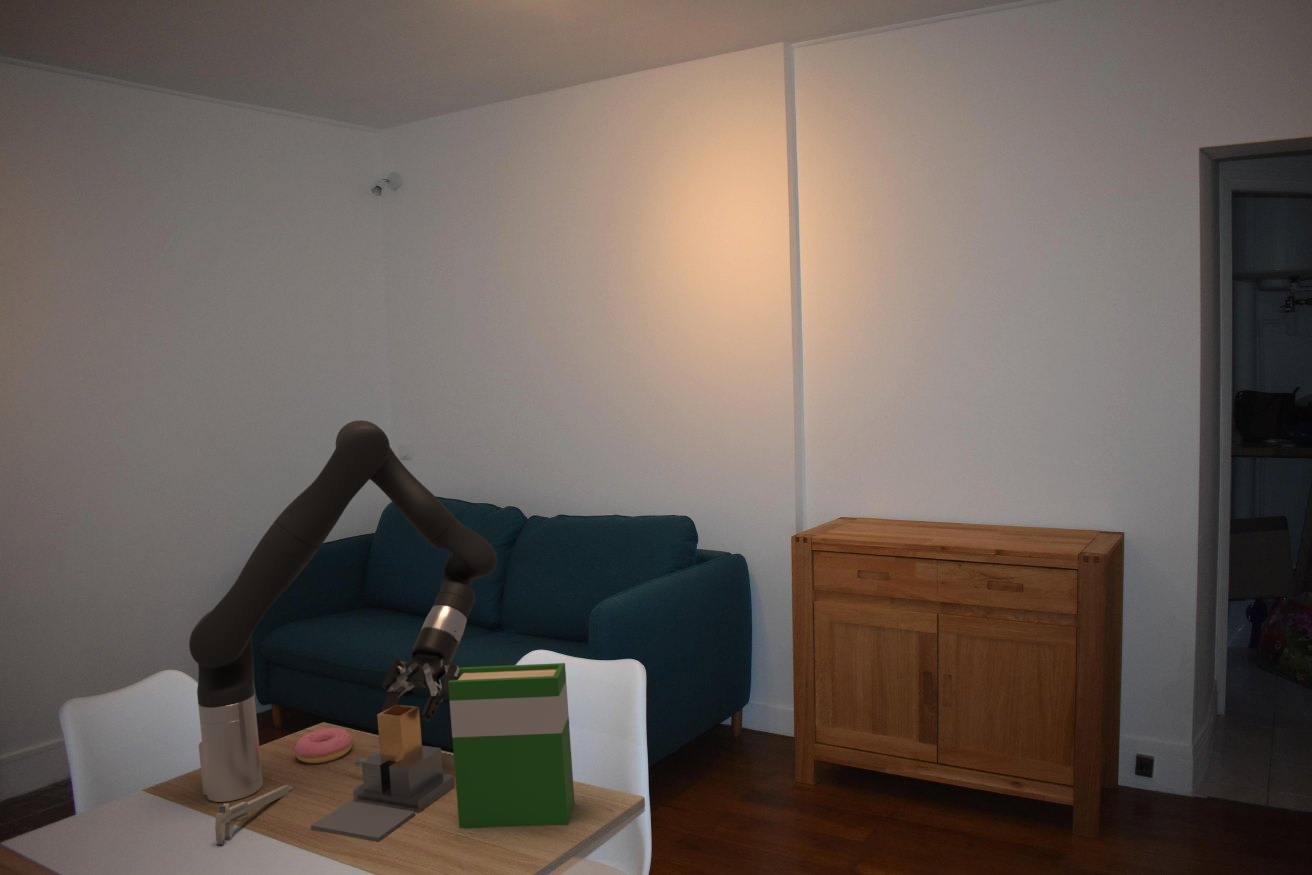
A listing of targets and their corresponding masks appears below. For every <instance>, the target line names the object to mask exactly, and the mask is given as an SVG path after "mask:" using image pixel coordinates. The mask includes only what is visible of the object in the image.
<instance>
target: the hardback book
mask: <svg viewBox="0 0 1312 875" xmlns="http://www.w3.org/2000/svg"><path fill="white" fill-rule="evenodd" d="M459 668H460V669H459V673H460V678H459V679H458V680H450V681H449V682H448V687H449V700H448V701H449V711H450V712H449V713H450V722H451V724H450V726H451V737H452V750H453V762H454V763H453V764H454V773H455V774H454V779H455V787H456V788H455V790H456V800H457V801H456V802H457V816H458V817H457V818H458V827H459V828H458V829H476V828H479V829H480V828H508V827H509V828H510V827H512V828H513V827H537V826H539V827H541V826H545V827H546V826H566V825H569V824H570V820H571V819H570V818H571V816H572V813H573V810H574V806H575V801H576V800H575V790H574V789H575V788H574V777H573V776H574V775H573V759H572V746H571V733H570V732H571V731H570V717H569V702H568V686H567V674H566V673H567V672H566V662H559V663H558V662H557V663H537V664H535V663H533V664H512V665H491V666H489V665H487V666H465V667H459Z"/></svg>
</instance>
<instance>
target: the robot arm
mask: <svg viewBox="0 0 1312 875" xmlns="http://www.w3.org/2000/svg"><path fill="white" fill-rule="evenodd" d="M335 438H336V439H335V449H334V450H333V453H332V455H331V456H330V458H329V459H328V461H327V462H326V463H325V466H324V467H323V469H322V470H321V472H320V473H319V474H318V476H316V478H315V479H314V481H313V482H311V484H309V486H308V487H306V489H304V490H303V491H302V492H301V493H300V494H299V495H298V496H296V498H294V499H293V501H291V502H290V503H289V504H288V505H287V506H286V507H285V508H284V509H283V510H282V512H281V513H280V514H279V515H278V516H277V518H276V519H275V520H274V521H273V523H272V524H271V525H270V527H269V528H268V529H267V531H266V532H264V535H263V536H262V538H261V539H260V541H259V542H258V544H257V545H256V547H255V549H253V551H252V552H251V555H250V557H249V558H248V559H247V561H246V563H245V565H244V567H243V568H242V570H241V572H240V574H239V575H238V577H237V579H236V581H234V584H233V585H232V586H231V588H230V589H229V590H228V592H226V594H225V595H224V596H223V597H222V598H221V600H220V601H219V602H218V603H217V604H216V605H215V606H214V607H213V609H211V610H210V611H209V612H207V613H206V614H205V615H203V617H201V619H200V620H199V621H197V623H196V625H195V626H194V627H193V629H192V631H191V634H190V636H189V641H188V642H189V643H188V644H189V645H188V646H189V651H190V655H191V657H192V659H193V660H194V662H195V663H197V667H198V680H197V681H198V683H197V688H196V689H197V690H196V694H197V704H198V706H197V707H198V716H199V726H200V733H201V734H200V736H201V741H200V743H199V744H198V751H199V764H200V773H201V785H202V786H201V787H202V795H204V796H206V798H207V799H208V800H209V801H211V802H216V803H221V802H224V803H226V802H231V801H235V800H236V801H237V800H240V799H244V798H246V797H249V796H251V795H253V794H255V793H257V792H258V791H260V790H261V788H262V787H263V775H262V774H263V773H262V765H261V764H262V763H261V753H260V750H261V749H260V741H259V732H258V731H259V730H258V729H259V728H258V720H257V710H256V709H257V708H256V700H255V699H256V697H255V688H254V682H255V679H254V678H255V666H254V650H253V640H252V639H253V637H252V635H253V633H254V632H255V630H256V628H257V626H258V625H259V624H260V622H261V621H262V620H263V617H264V616H265V614H266V613H267V611H268V610H269V609H270V608H271V606H272V605H273V604H275V602H276V600H278V598H280V596H282V595H283V593H284V592H285V591H286V590H287V589H288V587H290V586H291V584H292V583H293V582H294V581H295V580H296V578H297V577H298V576H299V575H300V574H301V572H303V570H304V569H305V568H306V566H307V565H308V564H309V563H310V561H311V560H312V559H313V558H314V556H315V555H316V553H317V552H318V551H319V549H320V548H321V546H323V544H324V542H325V541H326V540H327V537H329V535H330V534H331V532H332V531H333V529H334V527H335V526H336V525H337V523H338V521H339V520H340V518H341V517H342V514H343V513H344V512H345V510H346V509H347V507H348V506H349V504H350V503H351V501H352V500H353V499H354V497H355V496H356V495H357V494H358V493H359V492H360V490H361V489H362V488H363V487H364V486H365V485H366V484H367V483H368V482H369V481H371V482H372V483H373V484H375V485H376V486H377V488H379V489H380V490H381V491H382V492H383V493H384V494H385V495H386V497H387V498H389V499H390V501H391V502H392V504H394V506H395V507H396V509H398V510H399V512H400V513H401V514H402V515H403V517H404V518H405V519H406V520H407V521H408V522H409V524H410V525H411V526H412V527H413V528H414V529H415V531H416V532H418V534H420V535H421V537H422V538H424V539H425V541H426V542H427V543H428V544H429V545H430V546H431V547H433V548H434V549H435V550H439V551H448V552H450V553H449V555H448V556H447V559H446V561H445V563H444V567H443V572H442V577H441V582H440V590H439V592H438V594H437V596H436V598H435V601H434V603H433V605H432V607H431V610H430V611H429V612H428V614H427V616H426V617H425V620H424V622H423V624H422V627H421V629H420V632H419V633H418V636H417V638H416V640H415V643H414V645H413V647H412V653H411V658H410V659H409V660H408V661H403V660H401V659H400V658H395V659H394V660H393V663H392V664H391V667H390V669H389V670H388V672H387V674H386V675H385V679H384V680H383V682H382V685H381V688H383V689H384V690H385V692H387V696H386V698H385V700H384V702H383V705H382V707H381V708H382V710H381V711H382V712H383V711H385V710H387V709H389V708H391V707H392V706H394V705H399V704H398V703H399V701H400V697H401V696H402V695H404V694H405V693H406V692H407V691H411V690H412V689H413V688H425V689H429V693H430V696H428V697H427V701H426V703H425V705H424V707H423V710H422V713H421V714H420V717H421V718H422V719H423V720H424V721H425V722H431V721H432V719H433V718H434V717H435V716H436V714H437V710H438V708H439V705H440V703H441V702H443V701H445V700H448V701H450V700H449V687H448V682H449V681H450V680H458V679H459V678H460V673H459V669H460V668H461V667H459V666H458V665H457V664H456V663H455V662H452V661H453V659H454V657H455V654H456V651H457V649H458V647H459V644H460V641H461V639H462V637H463V635H464V632H465V628H466V624H467V621H468V619H469V617H470V614H471V611H472V609H473V607H474V603H475V601H476V594H475V592H474V590H473V588H471V585H472V583H473V581H474V580H477V579H480V578H484V577H487V576H489V575H490V574H492V573H493V572H494V571H495V569H496V568H497V565H498V564H497V563H498V558H497V554H496V551H495V549H494V547H493V546H492V544H491V543H490V542H489V541H488V540H487V539H485V538H484V537H483V536H481V535H480V534H478V533H477V532H475V531H474V530H473V529H471V528H469V527H468V526H466V525H464V524H463V523H461V522H460V521H459V520H458V519H457V518H456V517H455V516H454V514H453V513H452V512H451V511H450V509H448V508H447V507H446V506H445V504H444V503H442V502H441V501H440V500H439V499H438V498H437V497H436V495H434V493H432V492H431V491H430V490H429V489H428V488H427V487H426V486H424V485H423V483H421V481H420V480H418V478H416V477H415V476H414V475H413V474H412V472H410V471H409V469H408V468H407V467H406V466H405V465H404V463H402V462H401V460H400V459H399V458H398V457H397V455H396V454H395V452H394V451H393V449H392V448H391V446H390V444H391V443H390V440H389V438H388V435H387V434H386V433H385V431H384V430H383V429H382V428H380V427H379V426H378V425H376V424H375V423H374V422H372V421H369V420H363V419H361V420H353V421H351V422H348V423H347V424H345V425H343V426H342V427H341V428H340V429H339V431H338V433H337V436H336V437H335ZM444 676H445V677H444ZM443 677H444V680H443V683H442V682H441V681H442V680H441V679H443ZM406 680H408V681H406Z"/></svg>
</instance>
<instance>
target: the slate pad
mask: <svg viewBox="0 0 1312 875" xmlns="http://www.w3.org/2000/svg"><path fill="white" fill-rule="evenodd" d="M414 816H416V812H414V811H408V810H402V809H396V808H390V807H384V806H378V805H372V804H366V803H360V802H354V800H353V801H352V800H349V801H347V802H346V803H344V804H342V805H341V806H339V807H338V808H336V809H335V810H332V811H331V812H329V813H328V814H326V815H325V816H323V817H322V818H321V819H319V820H317V821H315V822H313V823H312V824H311V825H310V829H311V830H315V831H319V832H326V833H332V834H335V835H336V834H337V835H341V836H342V835H343V836H346V837H347V836H348V837H353V838H359V839H363V840H368V841H374V842H379V843H380V841H382V840H383V839H384V838H386V837H387V836H388V835H391V833H393V832H394V831H395V830H397V829H398V828H400V827H401V826H403V825H404V824H405V823H407V822H408V821H410V819H412V818H414Z"/></svg>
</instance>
